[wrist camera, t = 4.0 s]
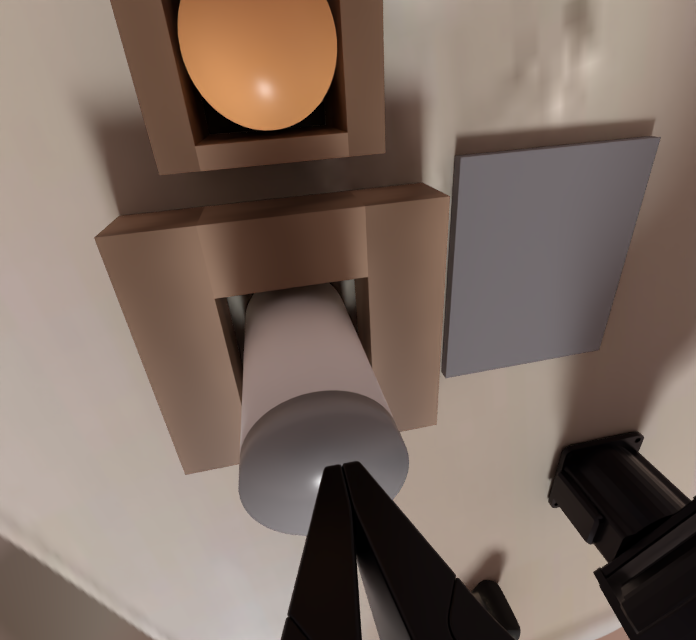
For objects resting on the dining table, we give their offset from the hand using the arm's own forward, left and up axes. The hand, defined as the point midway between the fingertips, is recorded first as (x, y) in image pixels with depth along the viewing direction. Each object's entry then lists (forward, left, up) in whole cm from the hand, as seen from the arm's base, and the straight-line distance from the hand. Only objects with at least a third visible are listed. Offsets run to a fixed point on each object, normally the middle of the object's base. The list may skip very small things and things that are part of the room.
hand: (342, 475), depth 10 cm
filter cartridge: (0, +2, -12) cm, 12 cm away
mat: (-13, +1, -12) cm, 17 cm away
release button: (0, -9, -10) cm, 14 cm away
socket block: (0, -2, -12) cm, 12 cm away
